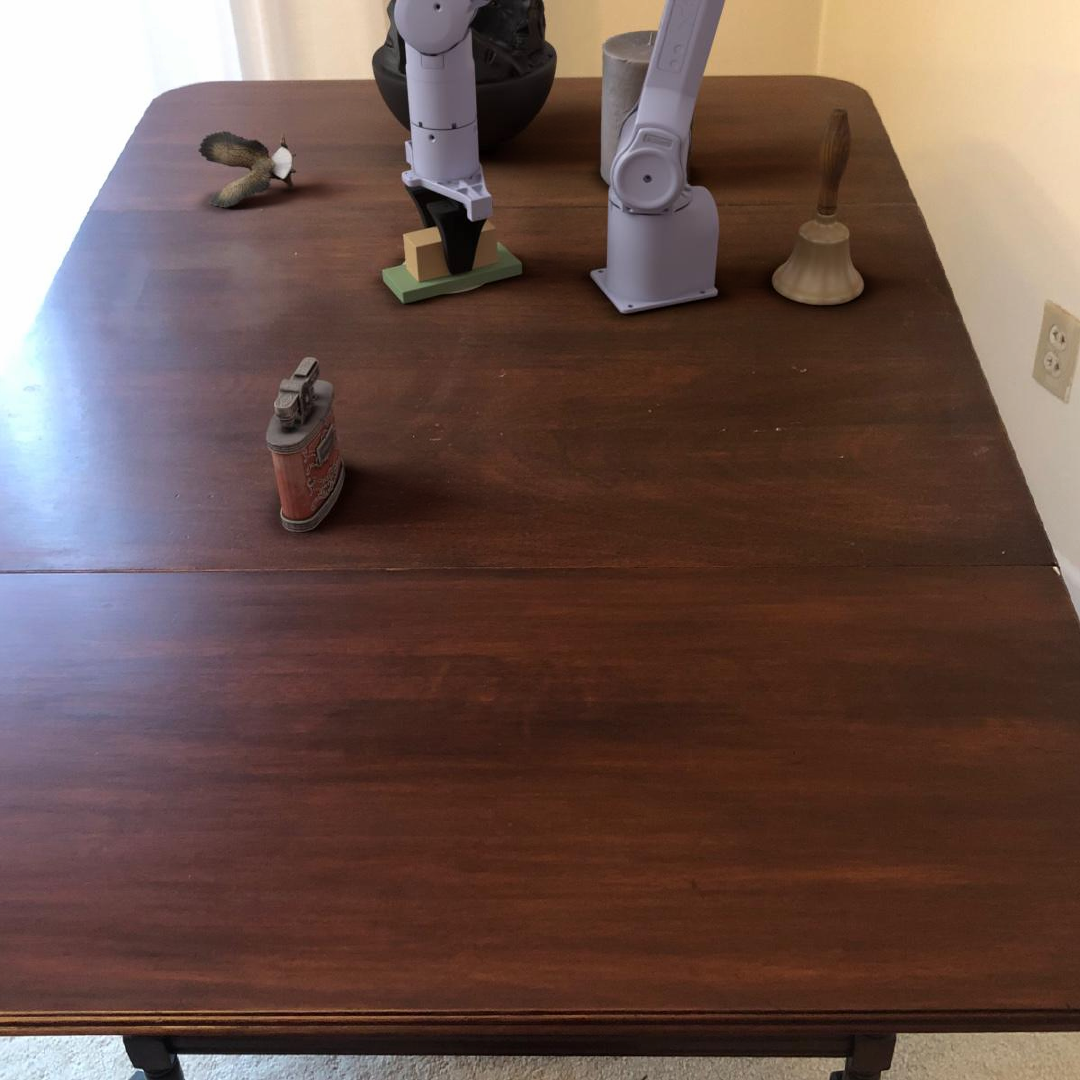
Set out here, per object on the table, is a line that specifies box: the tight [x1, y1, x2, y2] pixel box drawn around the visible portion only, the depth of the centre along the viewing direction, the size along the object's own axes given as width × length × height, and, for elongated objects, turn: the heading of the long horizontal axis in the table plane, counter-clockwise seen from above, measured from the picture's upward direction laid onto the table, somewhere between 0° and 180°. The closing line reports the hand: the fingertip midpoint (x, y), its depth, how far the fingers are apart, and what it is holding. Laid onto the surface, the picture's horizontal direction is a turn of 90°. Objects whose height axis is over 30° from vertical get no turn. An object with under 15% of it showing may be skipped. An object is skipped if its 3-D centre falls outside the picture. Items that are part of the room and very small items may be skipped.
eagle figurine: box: [198, 130, 297, 208], centre depth 127 cm, size 8×7×9 cm
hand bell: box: [771, 108, 865, 306], centre depth 107 cm, size 8×8×16 cm
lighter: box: [265, 356, 346, 533], centre depth 85 cm, size 8×3×10 cm, turn 168°
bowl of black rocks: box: [371, 0, 558, 152], centre depth 132 cm, size 20×20×19 cm
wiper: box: [381, 219, 523, 305], centre depth 112 cm, size 5×12×5 cm, turn 117°
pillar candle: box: [600, 29, 695, 187], centre depth 126 cm, size 10×10×15 cm
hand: (452, 263), depth 113 cm, fingers closed on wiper, 3 cm apart
